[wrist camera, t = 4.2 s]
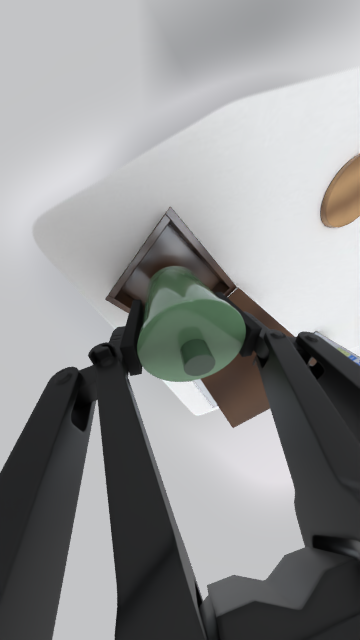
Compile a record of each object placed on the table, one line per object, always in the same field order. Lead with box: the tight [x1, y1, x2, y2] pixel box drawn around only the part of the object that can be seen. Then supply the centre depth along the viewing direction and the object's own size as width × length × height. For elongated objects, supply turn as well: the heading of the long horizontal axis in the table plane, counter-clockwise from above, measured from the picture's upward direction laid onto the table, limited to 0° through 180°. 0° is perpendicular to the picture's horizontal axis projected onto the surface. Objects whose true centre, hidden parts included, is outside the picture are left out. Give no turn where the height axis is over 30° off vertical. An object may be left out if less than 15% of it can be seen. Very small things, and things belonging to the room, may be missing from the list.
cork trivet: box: [321, 154, 360, 228], centre depth 19 cm, size 8×8×1 cm
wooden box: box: [105, 207, 237, 313], centre depth 20 cm, size 13×13×4 cm
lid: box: [201, 288, 317, 428], centre depth 20 cm, size 14×13×5 cm
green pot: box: [137, 266, 246, 382], centre depth 13 cm, size 8×8×11 cm
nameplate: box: [193, 379, 218, 407], centre depth 43 cm, size 22×1×5 cm
